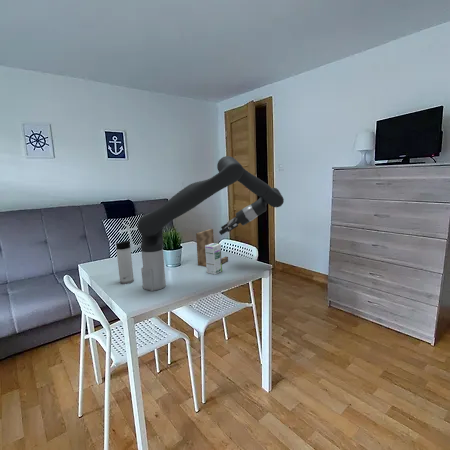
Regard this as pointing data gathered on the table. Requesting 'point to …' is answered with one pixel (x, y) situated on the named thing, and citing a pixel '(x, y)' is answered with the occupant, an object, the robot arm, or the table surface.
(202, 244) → the board
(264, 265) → the table surface
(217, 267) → the syrup box
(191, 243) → the table surface
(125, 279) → the travel mug
